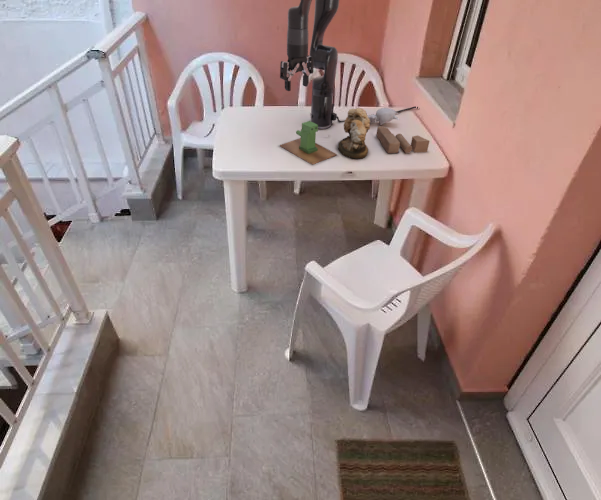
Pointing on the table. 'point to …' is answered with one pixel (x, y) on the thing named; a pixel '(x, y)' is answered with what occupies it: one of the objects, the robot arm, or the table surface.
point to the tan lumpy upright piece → (355, 134)
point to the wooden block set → (400, 142)
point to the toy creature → (383, 116)
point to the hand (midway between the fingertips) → (296, 88)
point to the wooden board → (312, 157)
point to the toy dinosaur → (308, 137)
